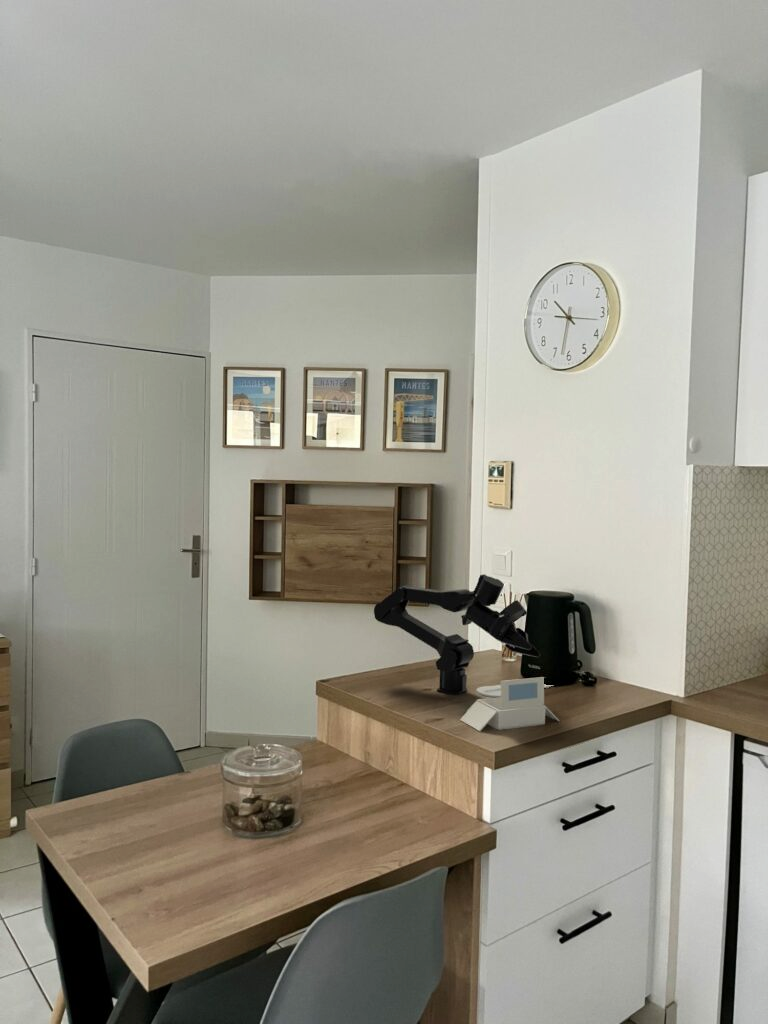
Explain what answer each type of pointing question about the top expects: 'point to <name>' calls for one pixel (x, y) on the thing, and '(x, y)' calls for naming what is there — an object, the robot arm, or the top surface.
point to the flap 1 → (478, 716)
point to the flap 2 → (550, 714)
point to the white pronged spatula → (495, 690)
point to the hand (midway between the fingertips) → (535, 652)
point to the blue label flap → (522, 692)
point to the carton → (514, 715)
